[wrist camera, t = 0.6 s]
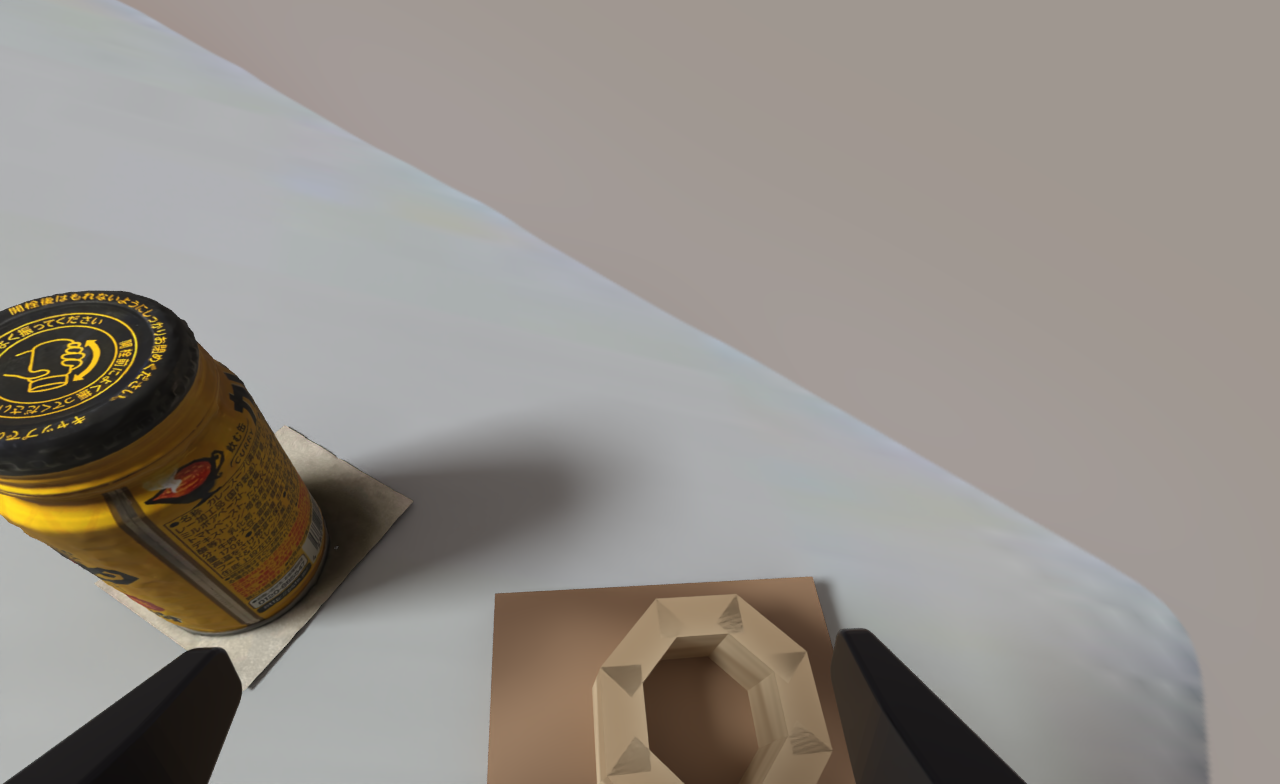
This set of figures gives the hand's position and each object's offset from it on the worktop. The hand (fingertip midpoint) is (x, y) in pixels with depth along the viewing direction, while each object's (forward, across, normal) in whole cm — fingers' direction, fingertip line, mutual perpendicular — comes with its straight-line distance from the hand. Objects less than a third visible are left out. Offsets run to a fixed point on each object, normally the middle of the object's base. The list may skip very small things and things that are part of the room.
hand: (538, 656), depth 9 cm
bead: (+7, -4, +12) cm, 15 cm away
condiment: (+13, +13, +9) cm, 20 cm away
